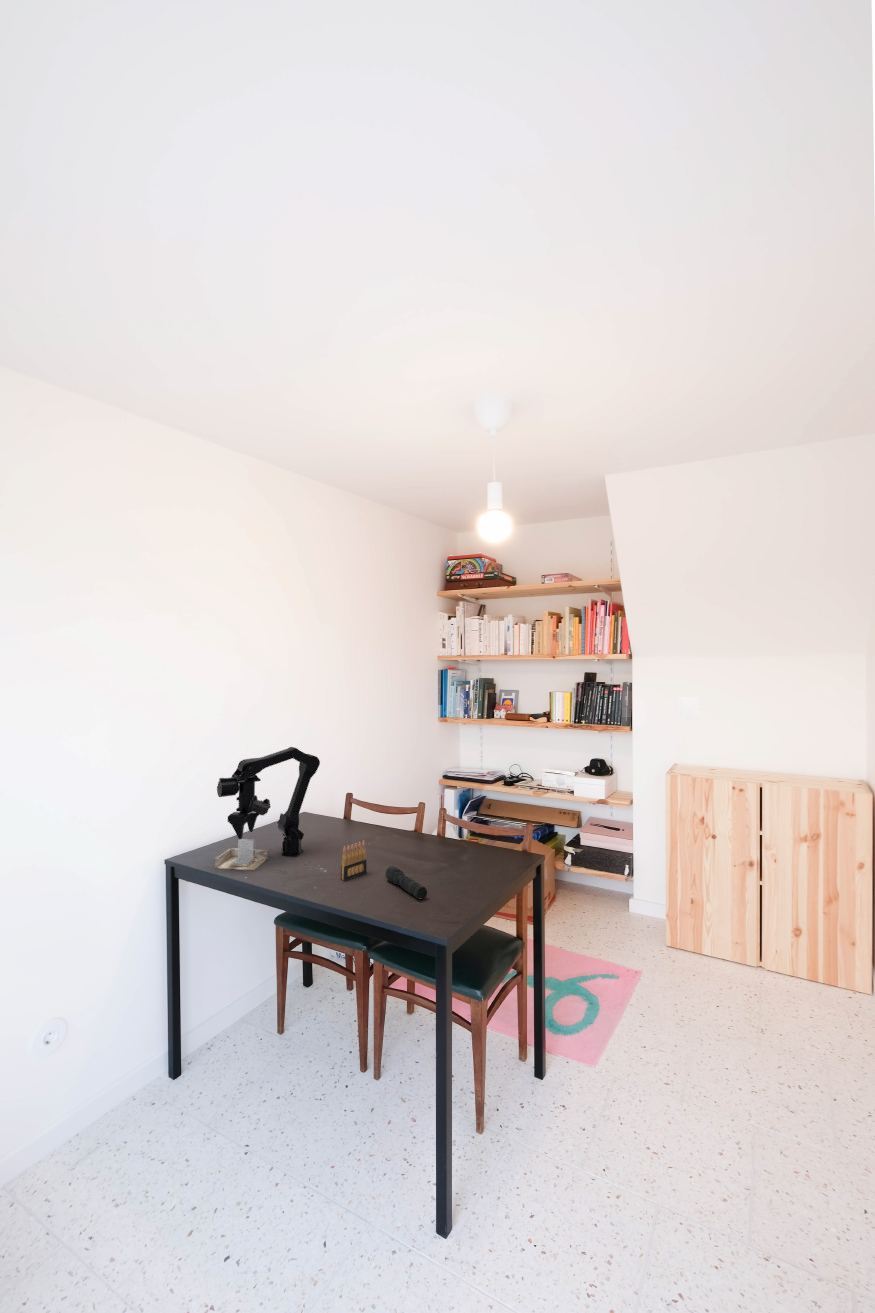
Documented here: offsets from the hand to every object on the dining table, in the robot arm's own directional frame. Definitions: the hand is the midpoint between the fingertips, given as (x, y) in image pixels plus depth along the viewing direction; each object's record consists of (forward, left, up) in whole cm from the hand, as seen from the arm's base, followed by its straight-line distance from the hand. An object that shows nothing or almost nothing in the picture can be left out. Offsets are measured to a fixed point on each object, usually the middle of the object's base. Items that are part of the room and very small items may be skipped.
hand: (245, 835), depth 220 cm
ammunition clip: (-44, +7, -11) cm, 45 cm away
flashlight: (-64, +16, -11) cm, 67 cm away
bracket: (0, +2, -10) cm, 10 cm away
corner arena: (+1, +1, -10) cm, 10 cm away
